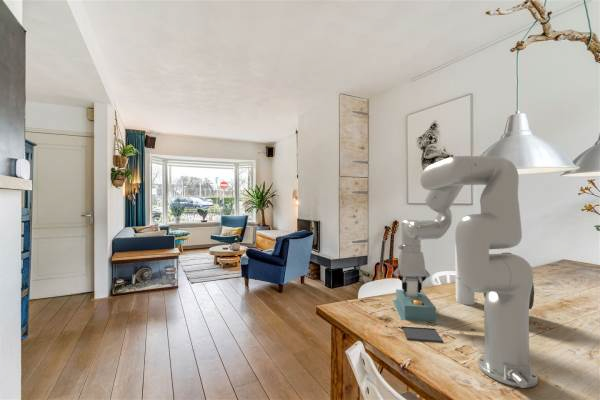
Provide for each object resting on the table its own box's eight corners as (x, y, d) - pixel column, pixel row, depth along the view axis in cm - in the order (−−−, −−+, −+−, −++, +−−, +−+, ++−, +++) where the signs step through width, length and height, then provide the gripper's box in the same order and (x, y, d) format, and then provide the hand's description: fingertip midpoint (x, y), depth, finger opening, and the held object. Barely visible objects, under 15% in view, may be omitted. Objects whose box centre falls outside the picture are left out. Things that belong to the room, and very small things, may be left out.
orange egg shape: (423, 314, 103) (423, 302, 104) (414, 313, 104) (414, 302, 104) (421, 311, 107) (420, 299, 107) (412, 310, 107) (412, 299, 107)
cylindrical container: (477, 305, 117) (476, 248, 117) (459, 304, 119) (458, 247, 119) (470, 299, 124) (469, 245, 124) (453, 298, 126) (452, 244, 126)
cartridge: (419, 308, 112) (419, 279, 112) (406, 307, 113) (406, 278, 113) (416, 304, 117) (416, 275, 117) (404, 303, 118) (404, 275, 118)
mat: (442, 342, 88) (442, 340, 88) (407, 339, 89) (407, 338, 89) (432, 326, 98) (432, 325, 98) (400, 324, 100) (400, 323, 100)
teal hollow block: (441, 324, 100) (440, 308, 100) (401, 322, 102) (401, 306, 102) (425, 303, 120) (425, 289, 120) (392, 301, 123) (392, 288, 123)
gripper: (391, 250, 113) (392, 293, 113) (435, 250, 110) (435, 295, 110) (389, 246, 120) (389, 287, 120) (429, 247, 117) (430, 289, 117)
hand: (411, 290), depth 115 cm, fingers closed on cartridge, 5 cm apart
